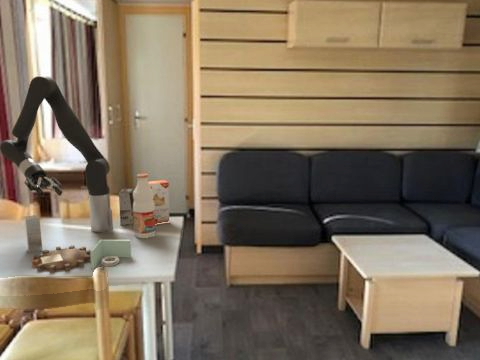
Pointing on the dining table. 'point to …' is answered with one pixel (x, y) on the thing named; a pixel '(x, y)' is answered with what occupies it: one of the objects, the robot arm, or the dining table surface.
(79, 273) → the dining table surface
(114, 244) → the l-shaped corner panel
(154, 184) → the cracker box
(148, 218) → the fruit juice
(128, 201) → the coffee box
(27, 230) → the brushed metal block
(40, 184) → the robot arm
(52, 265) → the sprocket plate
